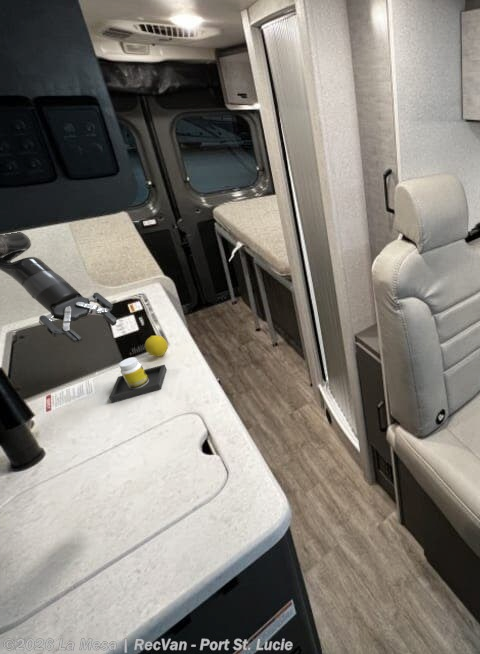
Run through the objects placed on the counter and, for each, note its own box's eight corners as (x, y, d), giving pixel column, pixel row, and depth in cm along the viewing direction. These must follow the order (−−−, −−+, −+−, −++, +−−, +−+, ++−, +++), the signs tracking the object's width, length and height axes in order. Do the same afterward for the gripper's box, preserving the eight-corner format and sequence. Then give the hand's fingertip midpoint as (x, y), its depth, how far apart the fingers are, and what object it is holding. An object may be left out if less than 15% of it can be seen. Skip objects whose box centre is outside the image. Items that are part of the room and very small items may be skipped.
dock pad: (111, 403, 107) (108, 398, 106) (120, 381, 115) (118, 376, 114) (161, 389, 112) (158, 384, 111) (166, 369, 119) (164, 364, 118)
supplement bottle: (152, 381, 114) (141, 359, 110) (135, 391, 110) (123, 369, 106) (143, 376, 116) (131, 354, 112) (125, 387, 112) (113, 364, 108)
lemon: (146, 359, 124) (136, 339, 120) (163, 349, 128) (154, 329, 125) (159, 363, 122) (149, 342, 118) (175, 352, 127) (166, 332, 123)
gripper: (19, 296, 97) (69, 341, 99) (83, 272, 109) (127, 312, 111) (17, 311, 101) (66, 353, 103) (80, 285, 113) (122, 324, 115)
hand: (98, 332), depth 107 cm, fingers open, 8 cm apart
